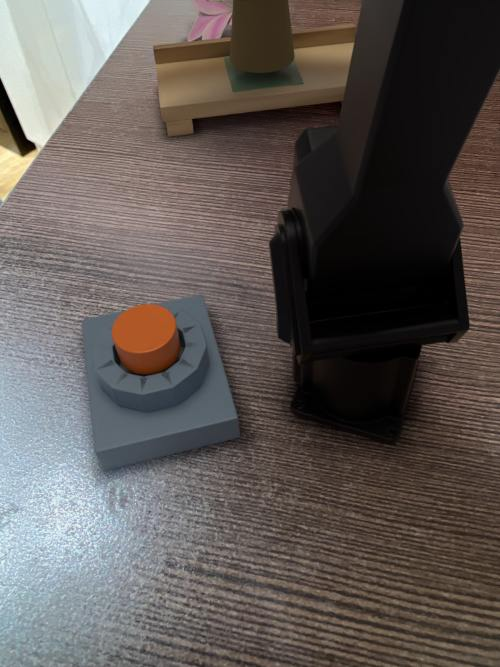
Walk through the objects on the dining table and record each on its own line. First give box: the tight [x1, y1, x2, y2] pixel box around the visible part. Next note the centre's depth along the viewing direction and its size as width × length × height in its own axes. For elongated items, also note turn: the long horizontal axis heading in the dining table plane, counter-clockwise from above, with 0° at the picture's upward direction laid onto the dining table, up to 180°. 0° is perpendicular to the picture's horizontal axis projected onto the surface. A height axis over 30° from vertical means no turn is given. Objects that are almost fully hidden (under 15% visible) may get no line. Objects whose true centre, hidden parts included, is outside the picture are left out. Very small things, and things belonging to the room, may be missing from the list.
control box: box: [81, 293, 241, 472], centre depth 36 cm, size 10×8×4 cm
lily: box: [187, 0, 233, 42], centre depth 65 cm, size 12×12×10 cm
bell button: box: [112, 303, 181, 375], centre depth 34 cm, size 4×4×2 cm
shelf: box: [152, 23, 357, 138], centre depth 58 cm, size 9×20×4 cm, turn 99°
